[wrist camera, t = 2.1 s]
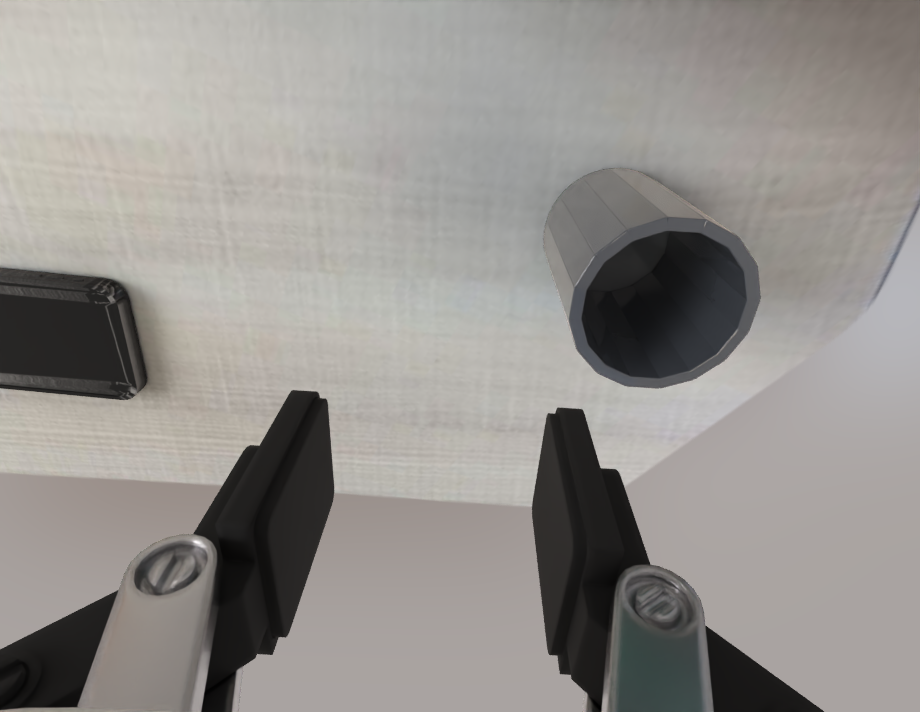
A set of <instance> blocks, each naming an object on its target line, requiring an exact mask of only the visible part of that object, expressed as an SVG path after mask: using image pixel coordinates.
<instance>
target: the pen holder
mask: <svg viewBox="0 0 920 712" xmlns="http://www.w3.org/2000/svg"><path fill="white" fill-rule="evenodd" d="M543 240H544V251H545V255H546V258H547V261H548V265H549V268H550V272H551V275H552V278H553V281H554V284H555V287H556V290H557V293H558V296H559V299H560V302H561V305H562V308H563V311H564V314H565V317H566V320H567V323H568V326H569V329H570V332H571V335H572V338H573V341H574V344H575V347H576V349H577V351H578V352H579V354H580V355H581V356H582V357H583V358H584V359H585V360H586V361H587V363H588V364H589V365H590V366H591V367H592V368H593V369H594V371H595V372H597V373H598V374H600V375H602V376H604V377H606V378H609V379H611V380H613V381H615V382H617V383H620V384H622V385H624V386H628V387H643V388H664V387H668V386H672V385H676V384H679V383H683V382H687V381H691V380H693V379H696V378H698V377H699V376H701V375H703V374H704V373H706V372H707V371H709V370H711V369H712V368H714V367H715V366H717V365H719V364H720V363H722V362H723V361H725V360H726V359H727V358H728V357H729V355H730V354H731V353H732V352H733V351H734V349H735V348H736V347H737V346H738V345H739V344H740V342H741V341H742V340H743V339H744V338H745V336H746V335H747V334H748V332H749V331H750V328H751V325H752V322H753V319H754V317H755V314H756V311H757V308H758V305H759V302H760V299H761V296H760V285H759V274H758V266H757V263H756V262H755V260H754V259H753V257H752V256H751V254H750V253H749V251H748V250H747V248H746V247H745V245H744V244H743V242H742V241H741V239H740V238H739V237H738V236H737V235H736V234H734V233H733V232H731V231H730V230H728V229H727V228H725V227H724V226H722V225H721V224H719V223H718V222H716V221H715V220H714V219H712V218H711V217H709V216H708V215H706V214H705V213H703V212H702V211H700V210H699V209H697V208H696V207H694V206H693V205H692V204H690V203H689V202H687V201H686V200H684V199H683V198H681V197H680V196H678V195H677V194H675V193H674V192H672V191H671V190H670V189H668V188H667V187H665V186H664V185H662V184H661V183H659V182H657V181H655V180H654V179H652V178H650V177H649V176H647V175H645V174H643V173H641V172H638V171H635V170H631V169H625V168H610V169H603V170H599V171H596V172H593V173H590V174H588V175H586V176H584V177H582V178H580V179H578V180H577V181H576V182H574V183H573V184H571V185H570V186H569V187H568V188H567V189H566V190H565V191H564V192H563V193H562V194H561V195H560V196H559V198H558V199H557V200H556V202H555V203H554V205H553V206H552V208H551V211H550V213H549V215H548V218H547V221H546V224H545V229H544V239H543Z"/></svg>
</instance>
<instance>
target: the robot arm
mask: <svg viewBox="0 0 920 712" xmlns="http://www.w3.org/2000/svg"><path fill="white" fill-rule="evenodd" d="M333 497H334V480H333V466H332V453H331V440H330V427H329V414H328V403H327V400H326V399H322V398H320V397H319V393H318V392H312V391H297V390H293V391H291V392H290V394H289V395H288V397H287V399H286V401H285V402H284V404H283V406H282V408H281V409H280V411H279V413H278V415H277V416H276V418H275V420H274V422H273V423H272V425H271V427H270V429H269V430H268V432H267V434H266V436H265V437H264V439H263V441H262V443H261V444H260V446H254V445H250V446H248V447H247V448H246V449H245V450H244V451H243V453H242V455H241V456H240V458H239V459H238V461H237V463H236V464H235V466H234V468H233V469H232V471H231V473H230V474H229V476H228V478H227V479H226V481H225V483H224V484H223V486H222V488H221V489H220V491H219V493H218V494H217V496H216V497H215V499H214V501H213V503H212V504H211V506H210V507H209V509H208V511H207V512H206V514H205V516H204V517H203V519H202V521H201V522H200V524H199V525H198V527H197V529H196V530H195V532H194V534H184V535H183V534H182V535H176V536H172V537H168V538H165V539H162V540H160V541H158V542H156V543H154V544H152V545H150V546H149V547H147V548H146V549H144V550H143V551H142V552H140V553H139V554H138V555H137V556H136V557H135V558H134V559H133V560H132V562H131V563H130V564H129V566H128V568H127V570H126V572H125V573H124V576H123V579H122V582H121V585H120V588H119V590H118V591H116V592H114V593H112V594H110V595H108V596H106V597H104V598H102V599H100V600H98V601H96V602H94V603H92V604H90V605H88V606H86V607H84V608H82V609H80V610H78V611H76V612H74V613H72V614H70V615H68V616H66V617H64V618H62V619H60V620H58V621H56V622H54V623H52V624H50V625H48V626H46V627H44V628H42V629H40V630H38V631H36V632H34V633H32V634H31V635H28V636H26V637H24V638H22V639H20V640H18V641H16V642H14V643H12V644H10V645H8V646H7V647H4V648H2V649H0V712H238V711H239V702H240V692H241V683H242V674H243V666H244V665H246V664H247V663H249V662H250V661H252V660H253V659H255V657H256V655H257V654H268V655H272V654H273V652H274V649H275V646H276V643H277V640H278V637H286V636H287V635H288V633H289V631H290V628H291V625H292V622H293V619H294V616H295V613H296V611H297V607H298V604H299V602H300V598H301V596H302V592H303V590H304V587H305V584H306V580H307V578H308V575H309V572H310V569H311V566H312V562H313V560H314V557H315V554H316V551H317V548H318V545H319V542H320V539H321V535H322V533H323V529H324V527H325V524H326V521H327V518H328V515H329V512H330V509H331V506H332V502H333ZM532 518H533V527H534V535H535V544H536V553H537V562H538V571H539V578H540V587H541V597H542V606H543V614H544V623H545V632H546V641H547V649H548V653H549V655H558V663H559V670H560V674H568V675H571V679H572V680H573V681H574V682H575V683H577V684H578V685H579V686H580V687H581V688H582V689H583V690H584V691H585V693H584V703H583V712H824V711H823V710H821V709H820V708H819V707H817V706H816V705H814V704H813V703H812V702H810V701H809V700H807V699H806V698H805V697H803V696H802V695H801V694H799V693H798V692H797V691H795V690H794V689H792V688H791V687H790V686H788V685H787V684H785V683H784V682H783V681H781V680H780V679H779V678H777V677H775V676H774V675H773V674H772V673H770V672H769V671H767V670H766V669H765V668H763V667H762V666H761V665H759V664H758V663H756V662H755V661H754V660H752V659H751V658H750V657H748V656H747V655H745V654H744V653H743V652H741V651H740V650H739V649H737V648H736V647H734V646H733V645H732V644H730V643H729V642H727V641H726V640H725V639H723V638H722V637H720V636H719V635H718V634H716V633H715V632H714V631H712V630H711V629H709V628H708V627H707V626H705V619H704V611H703V607H702V604H701V600H700V598H699V597H698V595H697V594H696V592H695V591H694V589H693V588H692V587H691V586H690V585H689V584H688V583H687V582H686V581H685V580H684V579H683V578H681V577H680V576H678V575H676V574H675V573H673V572H672V571H670V570H667V569H664V568H662V567H659V566H654V565H650V562H649V559H648V556H647V553H646V550H645V547H644V544H643V542H642V538H641V535H640V532H639V530H638V527H637V524H636V521H635V518H634V515H633V512H632V509H631V506H630V503H629V500H628V497H627V494H626V491H625V488H624V485H623V482H622V479H621V476H620V474H619V472H618V471H617V470H616V469H603V468H600V465H599V462H598V459H597V455H596V452H595V448H594V445H593V442H592V438H591V435H590V431H589V428H588V425H587V421H586V418H585V414H584V412H583V410H582V409H571V408H557V410H556V413H555V414H550V413H548V415H547V418H546V424H545V430H544V436H543V442H542V448H541V454H540V460H539V466H538V473H537V479H536V485H535V491H534V497H533V504H532Z"/></svg>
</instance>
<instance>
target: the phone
mask: <svg viewBox="0 0 920 712" xmlns="http://www.w3.org/2000/svg"><path fill="white" fill-rule="evenodd" d="M145 384H146V374H145V369H144V365H143V360H142V356H141V351H140V347H139V342H138V338H137V333H136V329H135V325H134V320H133V316H132V311H131V307H130V302H129V298H128V296H127V293H126V292H125V291H124V289H123V288H122V287H121V286H120V285H119V284H117V283H116V282H114V281H112V280H108V279H103V278H94V277H84V276H74V275H64V274H54V273H44V272H34V271H24V270H14V269H4V268H0V388H4V389H15V390H25V391H35V392H46V393H56V394H67V395H77V396H88V397H98V398H108V399H119V400H128V399H131V398H133V397H134V396H135V395H136V394H137V393H138V392H139V391H140V390H141V389H142V388H143V387H144V386H145Z"/></svg>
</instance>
